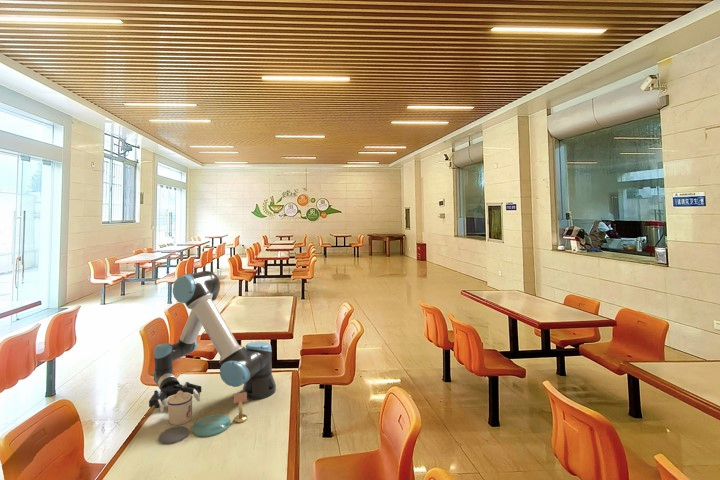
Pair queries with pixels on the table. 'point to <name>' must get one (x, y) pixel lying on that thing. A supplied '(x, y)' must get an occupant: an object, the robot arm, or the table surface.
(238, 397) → the brass tag sign
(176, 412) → the teacup with lid
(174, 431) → the charcoal coaster
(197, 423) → the teal coaster
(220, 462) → the table surface
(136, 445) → the table surface
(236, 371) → the robot arm
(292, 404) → the table surface
